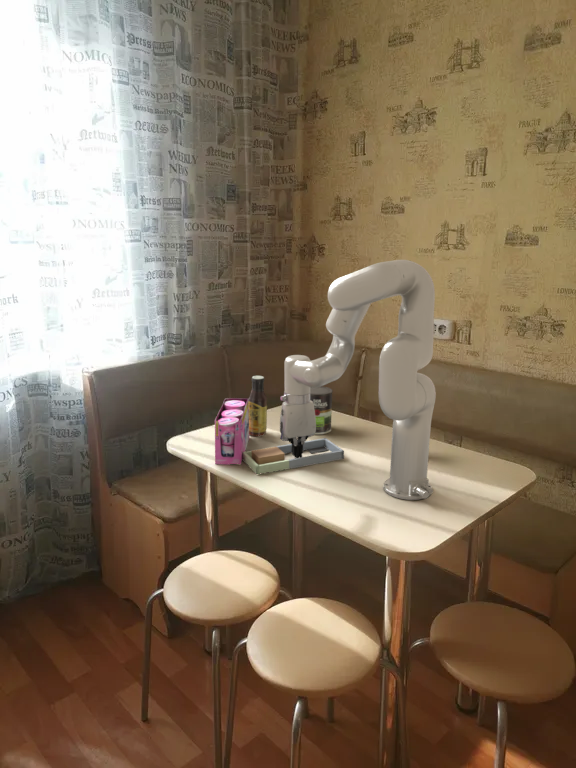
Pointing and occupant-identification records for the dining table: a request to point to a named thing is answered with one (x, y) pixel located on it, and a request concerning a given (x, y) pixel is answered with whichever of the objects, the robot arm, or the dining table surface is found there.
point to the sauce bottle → (257, 408)
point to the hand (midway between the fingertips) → (297, 456)
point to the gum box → (231, 431)
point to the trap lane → (311, 446)
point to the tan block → (267, 455)
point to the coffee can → (322, 408)
